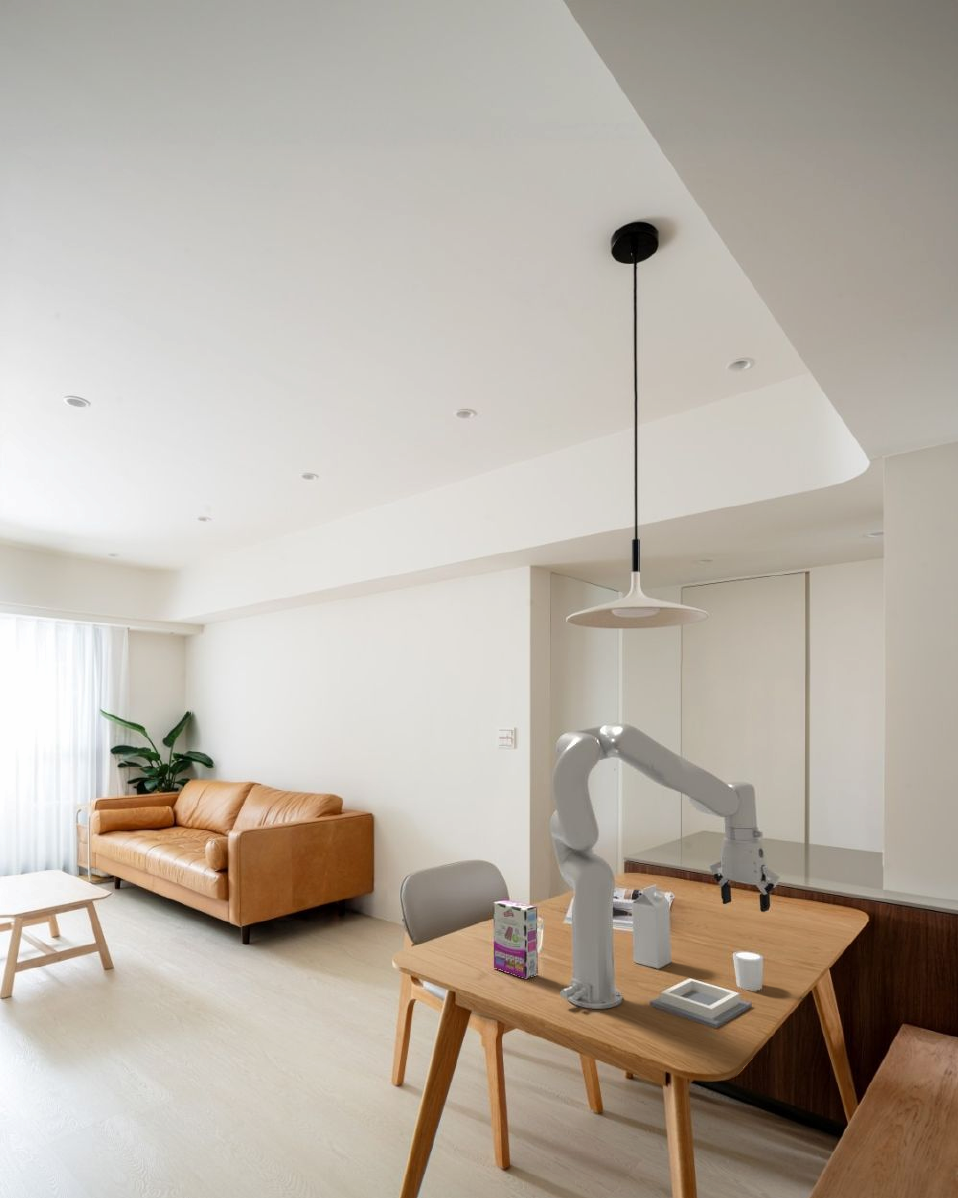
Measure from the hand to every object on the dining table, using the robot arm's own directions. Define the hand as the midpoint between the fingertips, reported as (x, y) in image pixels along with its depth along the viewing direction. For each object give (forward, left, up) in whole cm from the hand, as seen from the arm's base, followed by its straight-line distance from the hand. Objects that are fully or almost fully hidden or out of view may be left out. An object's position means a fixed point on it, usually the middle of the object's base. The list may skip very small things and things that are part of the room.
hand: (745, 906), depth 174 cm
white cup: (0, 0, -18) cm, 18 cm away
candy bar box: (-34, +45, -18) cm, 59 cm away
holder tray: (-19, +2, -18) cm, 26 cm away
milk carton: (-3, +25, -18) cm, 31 cm away
